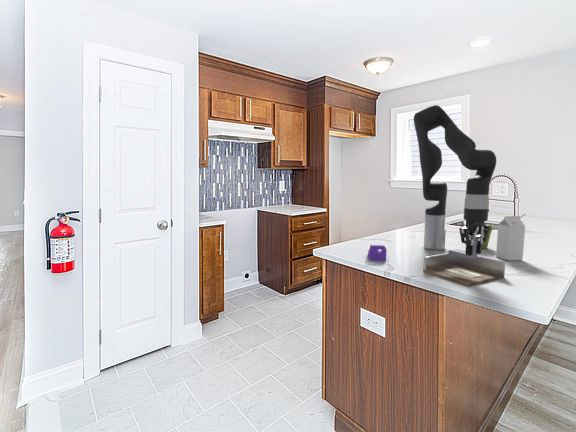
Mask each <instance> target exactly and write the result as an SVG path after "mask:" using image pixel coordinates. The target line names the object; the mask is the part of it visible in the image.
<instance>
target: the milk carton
mask: <svg viewBox="0 0 576 432" xmlns="http://www.w3.org/2000/svg"><path fill="white" fill-rule="evenodd" d="M503 218H504V219H502V220H501V221H500V222H499V223H498V225H497V238H496V239H497V240H496V251H495V257H496V258H500V259H502V260H503V261H523V259H524V256H523V255H524V249H525V248H524V246H525V236H526V235H525V233H526V226H525V224H524V222H523V221H522V220H521V215H508V216H506V215H504V217H503Z"/></svg>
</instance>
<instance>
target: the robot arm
mask: <svg viewBox="0 0 576 432" xmlns="http://www.w3.org/2000/svg"><path fill="white" fill-rule="evenodd" d="M413 125H414V129H415V133H416V138H417V139H416V140H417V144H418V151H419V152H418V153H419V162H420V168H421V169H420V170H421V177H422V196H423V199H424V200H426V201H429V202H430V201H431V202H432V201H433V202H438V203H437V204H435V205H433V206H432V207H431V206H429V207H427V208H425V210H424V211H425V213H424V214H425V215H424V231H423V232H424V236H423V248H424V249H426V250H433V251H435V250H436V251H441V250H442V251H443V249H445V248H446V234H447V233H446V232H447V230H446V229H445V226H446V211H447V210H446V209H447V208H446V205H447V197H448V185H447V183H446V182H442V181H441V182H440V181H437V182H435V181H434V182H433V181H431V180H432V179H433V178H434V176H435V175H436V174H437V173H438V172H439V171H440V169H441V167H442V165H443V155H442V150H441V148H440V147H439V146H438V145H437V144H436V143H434V142H433V141H432V140H431V139H430V138H429V135H428V134H429V132H430V131H432V130H435V129H437V128H438V127H441V128H443V129H444V141H445V145H446V146H447V147H448V149H449V150H451V151H452V152H453V153H454V154H455V155H457V157H458V160H459V162H460V163H461V165H462V167H464V168H465V169H467V170H470V171H476V172H475V175H474V176H472V177H469V178H468V179H467V181H466V186H465V187H466V188H465V189H466V190H465V197H464V209H463V219H464V220H465V221H466V223H465V226H463V227H459V235H460V240H461V243H462V244H464V245H465V251H466V255H469V256H471V255H473V242H474V239H479V242H478V255H481V254H482V248H481V245H482V244H483V242H486V239H487V236H488V232H489V229H490V226H487V225H488V224H485V222H488V219H489V207H490V196H489V195H490V194H489V193H490V183H491V180H492V177H493V175H494V172H495V170H496V166H497V155H496V153H495V152H494V151H492V150H490V149H476V148H477V145H476V143H475V141H474V140H473V139H472V138H470V137H469V136H468V135H467V134H466V133H464V132H463V131H462V130H461V129H460V128H459V127H458V126H457V124H455V122H454V120H452V118H451V117H450V116H449V115H448V113H447V112H446V111H445V110H444V109H443V108H442V107H441V106H439V105H438V104H432V105H430V106H427V107H425V108H423V109H421V110H419V111H417V112H416V113H414V116H413ZM470 235H472V236H470ZM483 237H484V238H483ZM470 238H471V240H470Z"/></svg>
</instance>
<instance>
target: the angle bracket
mask: <svg viewBox="0 0 576 432" xmlns="http://www.w3.org/2000/svg"><path fill="white" fill-rule="evenodd" d="M469 239H470V238H469ZM470 240H471V239H470ZM478 242H479V239H474V242H473V255H471V256H469V255H466V250H461V249H457V248H453V249H448V251H447V253H448V254H451V255H455V256H459V257H463V258H467V259H474V258H477V256H479V254H478Z"/></svg>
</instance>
